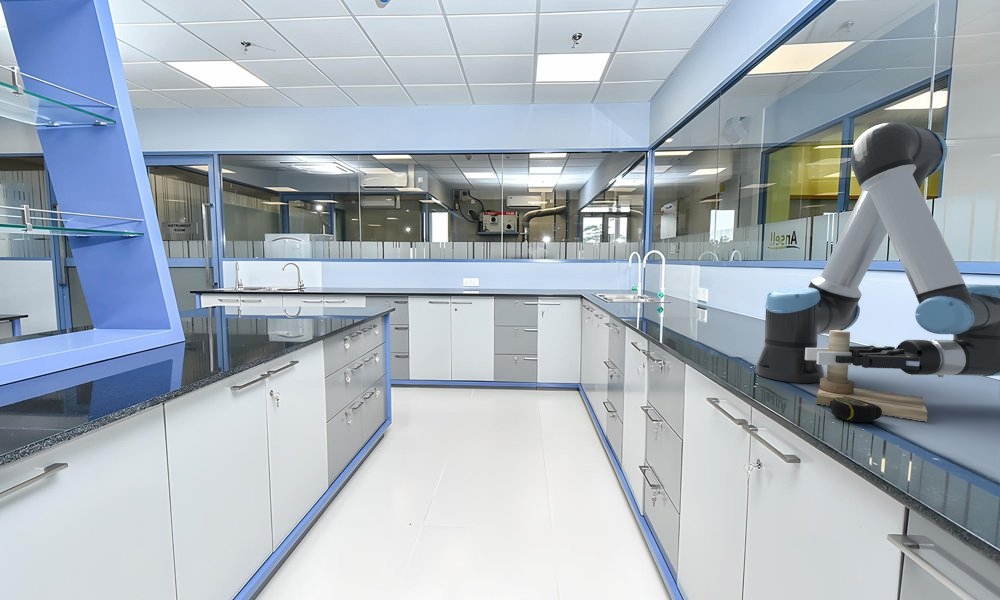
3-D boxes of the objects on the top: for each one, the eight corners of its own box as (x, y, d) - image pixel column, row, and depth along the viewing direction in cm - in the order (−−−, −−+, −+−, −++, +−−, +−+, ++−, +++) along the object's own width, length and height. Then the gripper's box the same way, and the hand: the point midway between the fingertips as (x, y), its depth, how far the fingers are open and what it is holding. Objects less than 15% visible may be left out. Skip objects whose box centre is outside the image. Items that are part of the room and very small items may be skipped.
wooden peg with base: (820, 384, 101) (823, 328, 100) (854, 389, 97) (857, 331, 96) (817, 391, 96) (821, 332, 95) (853, 396, 92) (856, 335, 91)
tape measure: (883, 423, 83) (885, 404, 82) (858, 427, 81) (859, 408, 80) (845, 412, 89) (846, 394, 89) (821, 415, 87) (822, 397, 87)
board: (821, 391, 103) (821, 383, 103) (921, 406, 92) (922, 397, 92) (816, 404, 94) (816, 395, 93) (926, 422, 83) (927, 412, 82)
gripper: (962, 385, 87) (835, 382, 89) (895, 365, 103) (789, 364, 105) (965, 347, 86) (837, 346, 88) (897, 333, 102) (791, 333, 105)
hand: (812, 356), depth 97 cm, fingers closed on wooden peg with base, 4 cm apart
